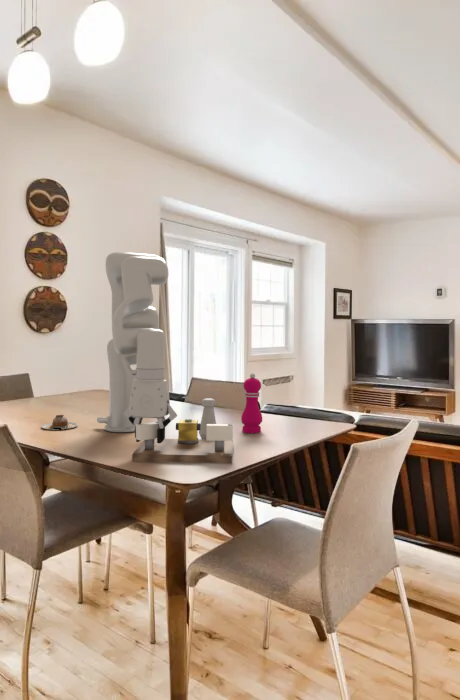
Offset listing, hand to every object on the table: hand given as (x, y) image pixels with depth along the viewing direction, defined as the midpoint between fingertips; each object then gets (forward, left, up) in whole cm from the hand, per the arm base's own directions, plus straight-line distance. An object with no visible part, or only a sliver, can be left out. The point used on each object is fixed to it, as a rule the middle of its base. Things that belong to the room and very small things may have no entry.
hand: (149, 440), depth 136 cm
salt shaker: (+14, +22, -4) cm, 27 cm away
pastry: (-38, +37, -5) cm, 53 cm away
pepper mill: (+28, +36, -4) cm, 46 cm away
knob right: (+19, 0, -2) cm, 19 cm away
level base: (+9, +4, -4) cm, 11 cm away
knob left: (0, 0, -2) cm, 2 cm away
